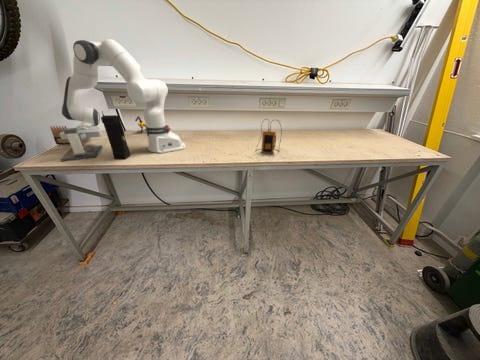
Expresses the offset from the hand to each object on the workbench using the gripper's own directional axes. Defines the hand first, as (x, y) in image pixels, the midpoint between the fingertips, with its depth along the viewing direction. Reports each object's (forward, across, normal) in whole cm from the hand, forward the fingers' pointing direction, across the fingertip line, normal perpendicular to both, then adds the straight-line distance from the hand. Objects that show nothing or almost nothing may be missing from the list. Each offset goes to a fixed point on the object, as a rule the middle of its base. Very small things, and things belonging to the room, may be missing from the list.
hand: (78, 137), depth 111 cm
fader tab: (+7, 0, +7) cm, 10 cm away
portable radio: (+15, +22, +9) cm, 29 cm away
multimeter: (+34, +105, +9) cm, 111 cm away
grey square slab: (+2, 0, +9) cm, 9 cm away
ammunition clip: (-23, -16, +10) cm, 29 cm away
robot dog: (-34, +32, +9) cm, 48 cm away
